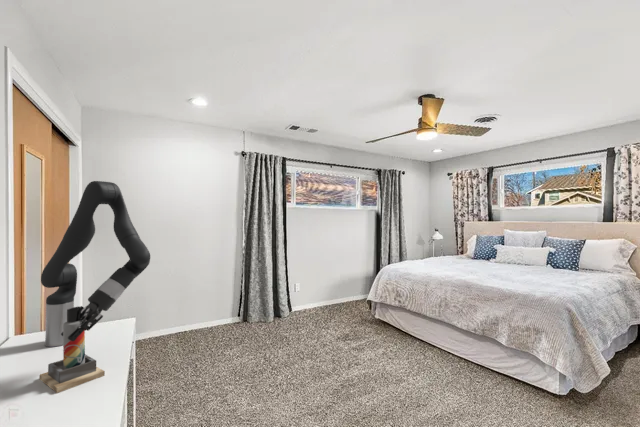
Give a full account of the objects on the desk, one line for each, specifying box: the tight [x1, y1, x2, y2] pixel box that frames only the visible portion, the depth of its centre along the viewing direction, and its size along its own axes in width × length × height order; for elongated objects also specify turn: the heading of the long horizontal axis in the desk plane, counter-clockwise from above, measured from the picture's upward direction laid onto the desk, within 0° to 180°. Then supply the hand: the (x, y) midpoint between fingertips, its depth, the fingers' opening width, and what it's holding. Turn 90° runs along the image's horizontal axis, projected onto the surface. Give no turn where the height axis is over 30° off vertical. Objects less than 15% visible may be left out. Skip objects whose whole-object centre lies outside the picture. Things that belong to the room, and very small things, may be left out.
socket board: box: [38, 354, 105, 394], centre depth 107 cm, size 15×13×5 cm
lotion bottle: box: [62, 306, 86, 370], centre depth 107 cm, size 6×6×20 cm
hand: (67, 337), depth 105 cm, fingers closed on lotion bottle, 5 cm apart
